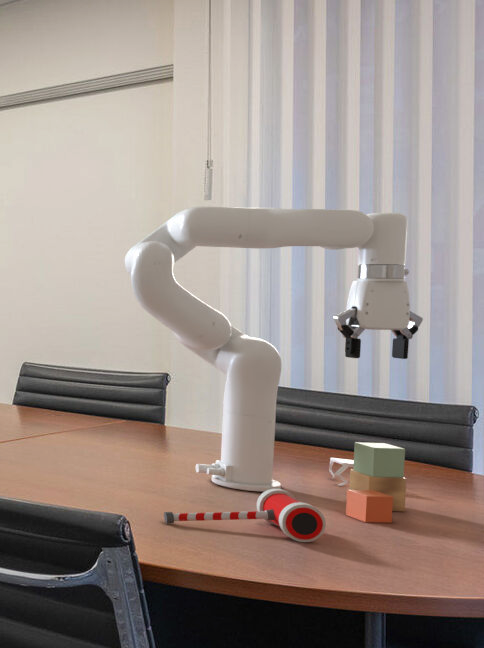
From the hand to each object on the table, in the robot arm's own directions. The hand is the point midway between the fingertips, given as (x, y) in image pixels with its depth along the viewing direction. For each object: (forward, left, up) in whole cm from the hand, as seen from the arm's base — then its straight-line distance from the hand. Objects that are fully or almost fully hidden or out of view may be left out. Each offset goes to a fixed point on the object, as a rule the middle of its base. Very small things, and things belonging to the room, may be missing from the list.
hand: (376, 357), depth 172 cm
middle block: (-4, -10, -22) cm, 24 cm away
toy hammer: (-36, -33, -28) cm, 57 cm away
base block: (-4, -10, -28) cm, 30 cm away
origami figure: (+2, +8, -28) cm, 30 cm away
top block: (-11, -20, -28) cm, 36 cm away
